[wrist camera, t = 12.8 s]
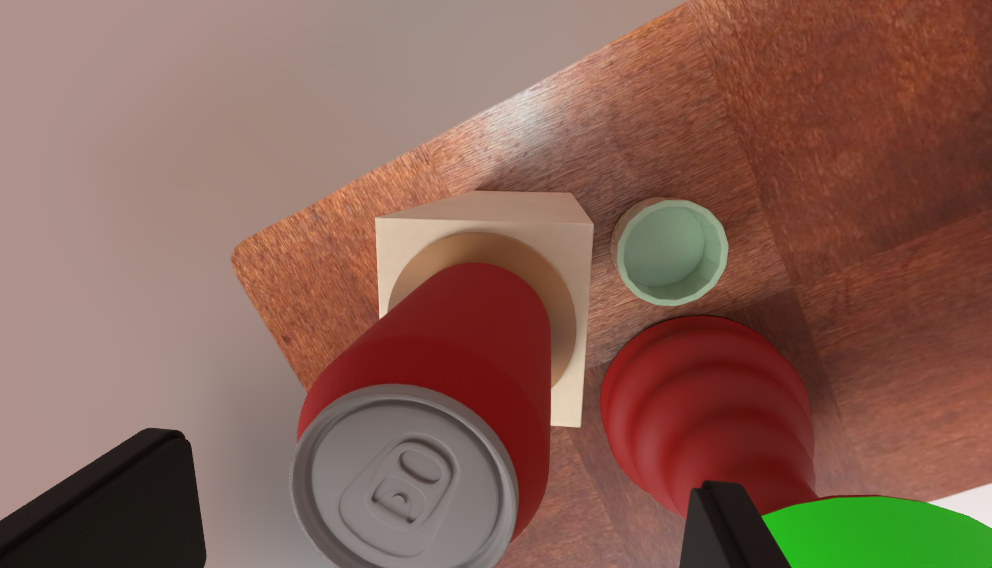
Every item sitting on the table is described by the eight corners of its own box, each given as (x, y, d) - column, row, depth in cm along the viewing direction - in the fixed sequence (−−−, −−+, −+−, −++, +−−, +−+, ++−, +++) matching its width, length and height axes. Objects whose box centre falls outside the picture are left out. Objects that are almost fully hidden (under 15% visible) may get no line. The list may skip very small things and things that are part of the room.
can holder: (613, 195, 48) (621, 199, 42) (714, 197, 47) (734, 201, 41) (607, 288, 50) (613, 303, 45) (702, 293, 49) (720, 308, 44)
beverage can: (385, 348, 23) (217, 527, 12) (452, 229, 21) (334, 301, 10) (503, 419, 23) (454, 666, 12) (580, 308, 22) (611, 469, 10)
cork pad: (385, 228, 22) (382, 229, 22) (581, 234, 21) (582, 235, 21) (392, 404, 24) (389, 408, 24) (571, 417, 23) (571, 422, 23)
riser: (473, 190, 49) (374, 217, 22) (571, 192, 48) (594, 223, 21) (472, 284, 52) (383, 413, 25) (566, 289, 50) (580, 427, 23)
